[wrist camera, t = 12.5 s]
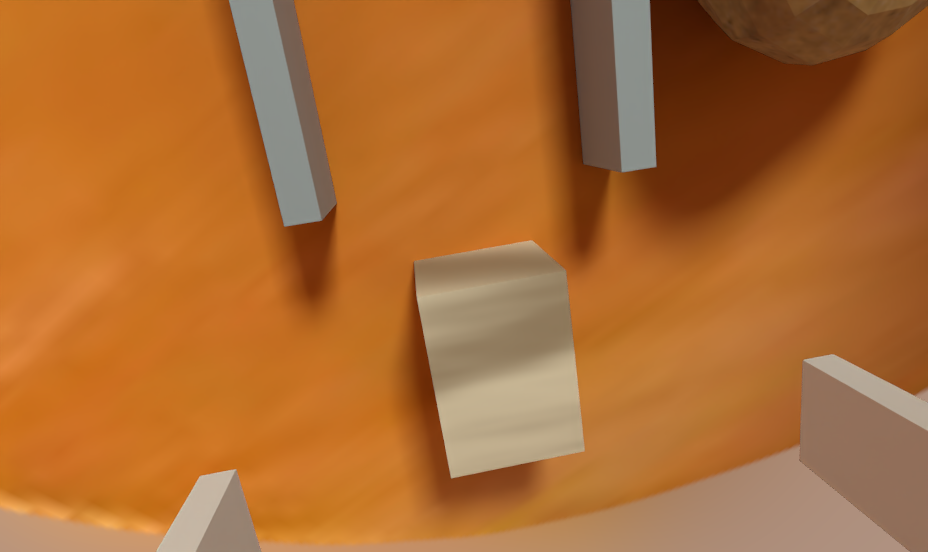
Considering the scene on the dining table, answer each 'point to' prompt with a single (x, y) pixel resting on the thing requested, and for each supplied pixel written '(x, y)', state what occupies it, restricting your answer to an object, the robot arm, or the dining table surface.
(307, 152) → the u-shaped frame
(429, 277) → the block
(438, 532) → the dining table surface
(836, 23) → the potato
